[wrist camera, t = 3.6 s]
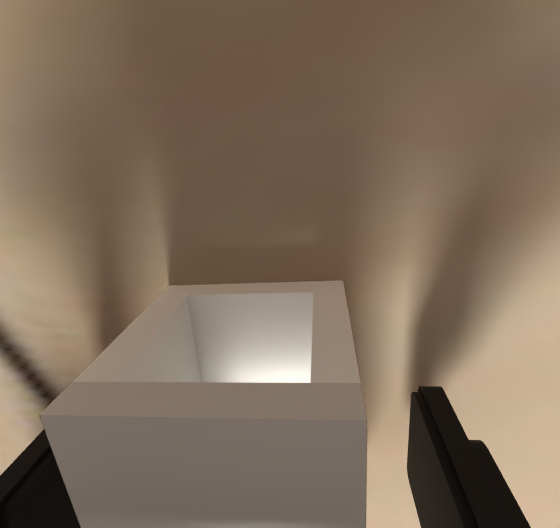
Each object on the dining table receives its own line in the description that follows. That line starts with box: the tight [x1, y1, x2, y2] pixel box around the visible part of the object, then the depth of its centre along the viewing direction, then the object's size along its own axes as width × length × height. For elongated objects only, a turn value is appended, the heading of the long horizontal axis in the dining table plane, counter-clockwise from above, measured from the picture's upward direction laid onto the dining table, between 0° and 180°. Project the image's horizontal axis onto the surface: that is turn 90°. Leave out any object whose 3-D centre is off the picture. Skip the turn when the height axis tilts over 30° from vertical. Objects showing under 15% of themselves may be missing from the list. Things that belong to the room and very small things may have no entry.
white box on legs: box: [39, 280, 367, 528], centre depth 9 cm, size 8×5×5 cm, turn 4°
